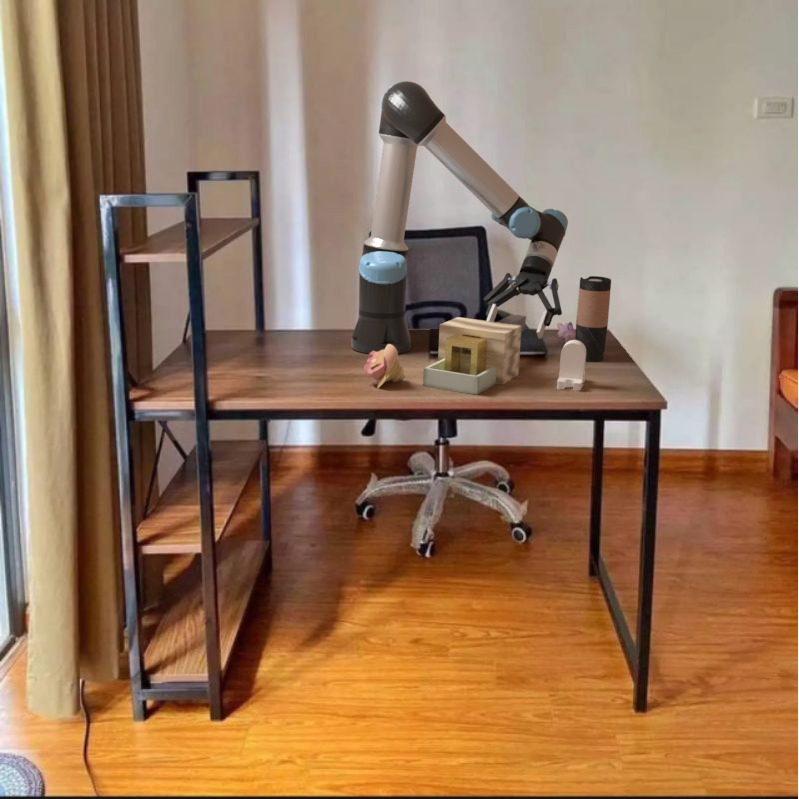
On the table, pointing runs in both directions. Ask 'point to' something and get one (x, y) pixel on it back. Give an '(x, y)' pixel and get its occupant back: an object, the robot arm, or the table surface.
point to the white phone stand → (572, 365)
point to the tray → (458, 379)
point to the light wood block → (498, 349)
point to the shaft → (510, 320)
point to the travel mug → (593, 316)
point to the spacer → (454, 352)
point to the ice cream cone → (384, 365)
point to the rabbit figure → (566, 331)
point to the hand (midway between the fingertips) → (512, 331)
